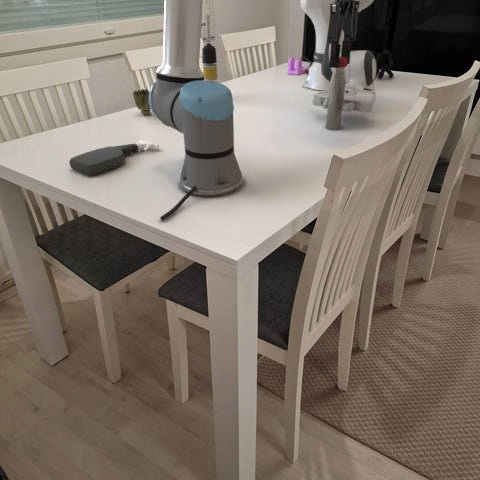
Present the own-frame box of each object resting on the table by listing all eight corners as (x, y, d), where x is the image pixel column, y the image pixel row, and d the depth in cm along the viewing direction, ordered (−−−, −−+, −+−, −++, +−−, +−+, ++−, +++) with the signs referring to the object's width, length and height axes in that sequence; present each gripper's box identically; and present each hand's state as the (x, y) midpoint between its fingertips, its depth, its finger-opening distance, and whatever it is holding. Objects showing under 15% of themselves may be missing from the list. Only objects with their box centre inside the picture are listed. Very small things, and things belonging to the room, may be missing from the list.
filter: (220, 99, 177) (217, 15, 161) (206, 100, 176) (202, 16, 160) (215, 96, 182) (212, 14, 166) (202, 97, 180) (197, 14, 164)
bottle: (326, 129, 144) (332, 62, 133) (325, 125, 148) (331, 59, 137) (341, 129, 144) (348, 62, 133) (340, 125, 148) (346, 59, 137)
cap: (345, 68, 133) (346, 59, 132) (330, 67, 135) (331, 59, 133) (348, 65, 137) (348, 57, 135) (333, 64, 138) (334, 56, 137)
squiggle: (382, 89, 208) (358, 69, 211) (398, 74, 207) (374, 53, 210) (386, 78, 197) (361, 56, 199) (403, 61, 196) (378, 40, 199)
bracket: (297, 74, 213) (298, 59, 209) (287, 73, 216) (288, 58, 212) (311, 70, 222) (312, 55, 218) (301, 68, 225) (302, 54, 221)
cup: (131, 115, 161) (128, 92, 157) (144, 109, 166) (141, 87, 162) (147, 117, 158) (145, 94, 154) (160, 112, 163) (157, 89, 159)
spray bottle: (67, 168, 120) (139, 144, 136) (91, 178, 114) (163, 151, 130) (65, 157, 118) (137, 134, 134) (89, 167, 112) (162, 142, 128)
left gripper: (343, -21, 115) (335, 72, 127) (375, -24, 128) (364, 61, 140) (318, -22, 119) (312, 69, 131) (351, -24, 132) (343, 59, 144)
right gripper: (321, 84, 154) (305, 93, 145) (380, 91, 145) (366, 101, 135) (320, 102, 158) (304, 112, 148) (377, 110, 148) (364, 121, 139)
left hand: (339, 65), depth 136 cm, fingers open, 6 cm apart
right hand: (334, 107), depth 141 cm, fingers closed on bottle, 5 cm apart
